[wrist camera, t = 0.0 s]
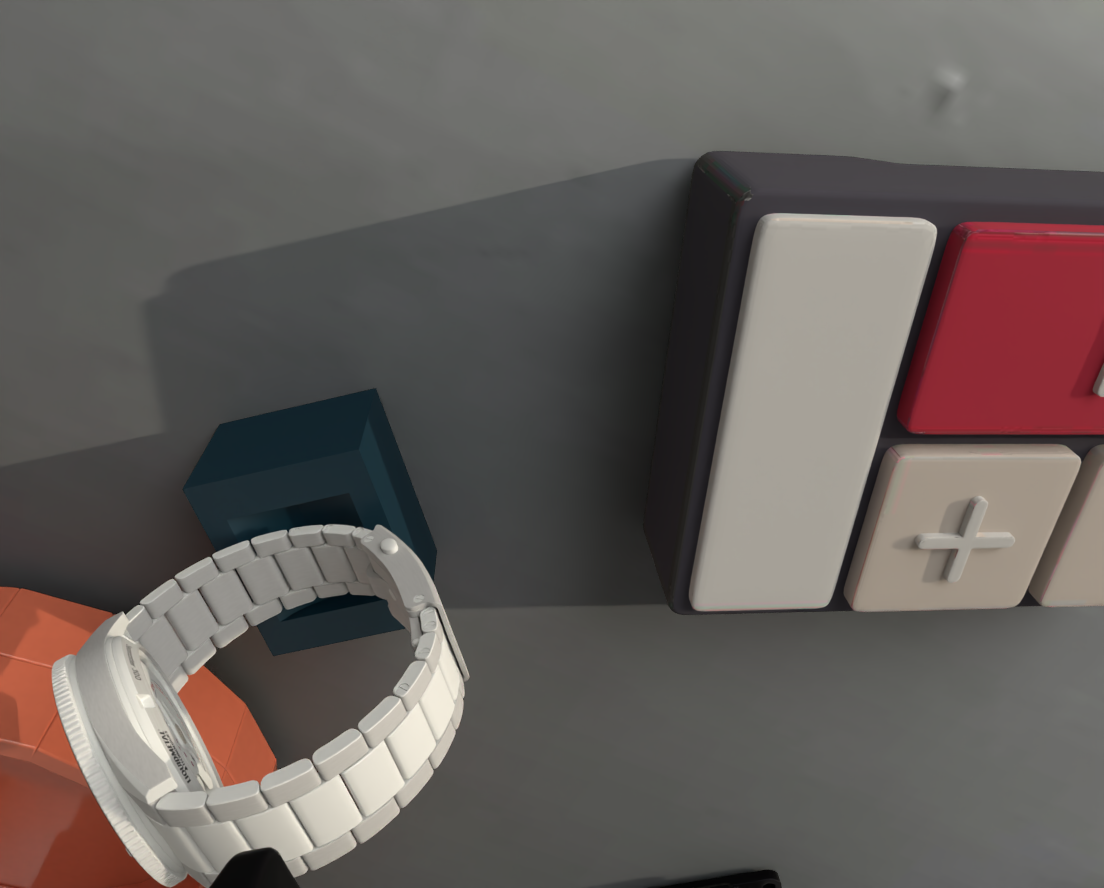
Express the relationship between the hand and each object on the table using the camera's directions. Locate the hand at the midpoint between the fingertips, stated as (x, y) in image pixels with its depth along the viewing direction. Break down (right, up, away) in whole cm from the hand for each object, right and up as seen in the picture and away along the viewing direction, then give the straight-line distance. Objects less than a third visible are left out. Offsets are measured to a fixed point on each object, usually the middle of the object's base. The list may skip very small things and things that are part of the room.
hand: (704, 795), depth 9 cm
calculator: (+9, +6, +14) cm, 18 cm away
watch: (-8, +2, +15) cm, 17 cm away
